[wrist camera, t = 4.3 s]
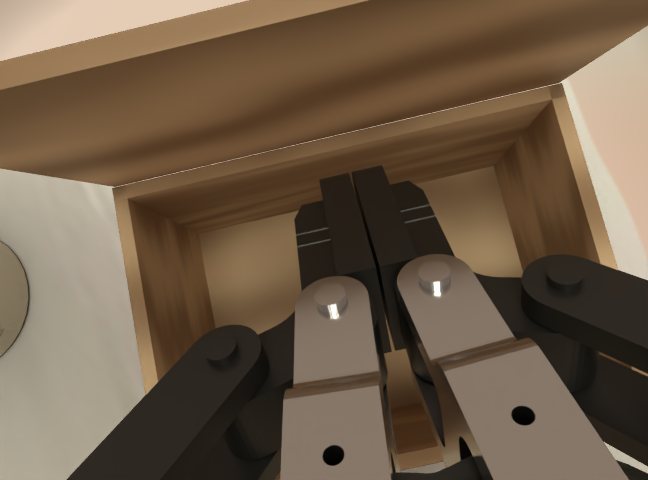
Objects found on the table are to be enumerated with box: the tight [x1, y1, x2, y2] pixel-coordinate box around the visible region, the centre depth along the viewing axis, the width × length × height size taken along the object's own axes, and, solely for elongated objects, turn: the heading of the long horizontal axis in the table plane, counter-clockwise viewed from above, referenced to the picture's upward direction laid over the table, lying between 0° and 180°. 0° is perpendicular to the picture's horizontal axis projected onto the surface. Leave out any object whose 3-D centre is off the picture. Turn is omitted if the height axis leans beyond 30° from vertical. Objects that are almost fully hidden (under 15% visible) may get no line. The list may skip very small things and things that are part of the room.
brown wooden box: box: [112, 83, 648, 480], centre depth 28 cm, size 14×20×11 cm
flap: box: [0, 0, 648, 187], centre depth 17 cm, size 14×20×1 cm
